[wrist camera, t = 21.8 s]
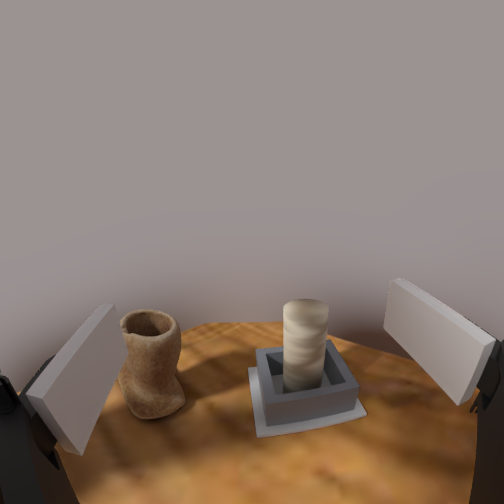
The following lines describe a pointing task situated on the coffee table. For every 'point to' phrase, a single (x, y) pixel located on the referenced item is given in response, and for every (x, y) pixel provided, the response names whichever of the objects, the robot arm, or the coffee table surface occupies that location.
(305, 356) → the peg
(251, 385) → the well
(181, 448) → the coffee table surface
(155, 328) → the tan boot
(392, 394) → the coffee table surface
